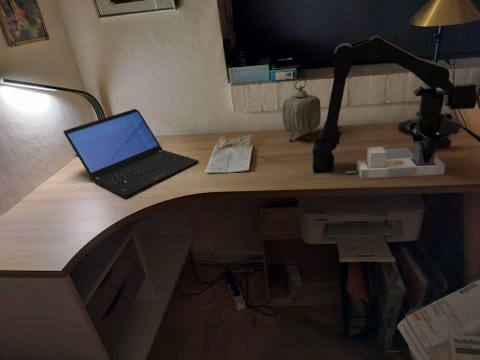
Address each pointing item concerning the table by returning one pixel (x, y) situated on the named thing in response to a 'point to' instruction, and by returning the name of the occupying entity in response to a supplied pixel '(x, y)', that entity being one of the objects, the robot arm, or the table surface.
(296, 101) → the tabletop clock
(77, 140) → the laptop
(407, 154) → the slate mat
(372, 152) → the block
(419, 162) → the grey rectangular block
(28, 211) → the table surface
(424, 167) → the power strip
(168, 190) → the table surface
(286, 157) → the table surface
